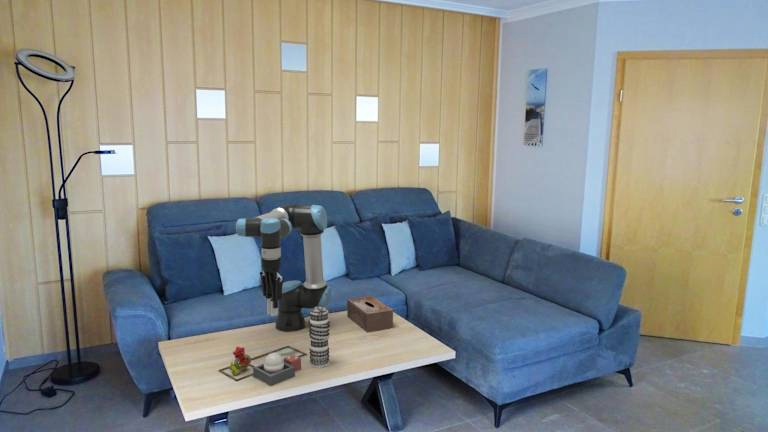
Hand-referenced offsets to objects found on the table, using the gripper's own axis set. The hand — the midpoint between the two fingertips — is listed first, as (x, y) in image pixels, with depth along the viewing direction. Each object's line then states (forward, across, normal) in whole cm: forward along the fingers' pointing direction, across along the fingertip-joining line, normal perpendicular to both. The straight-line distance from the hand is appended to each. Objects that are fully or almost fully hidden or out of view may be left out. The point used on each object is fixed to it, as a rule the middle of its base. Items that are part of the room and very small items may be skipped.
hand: (272, 314), depth 222 cm
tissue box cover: (+27, -16, +72) cm, 79 cm away
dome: (+24, 0, 0) cm, 24 cm away
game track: (+26, -14, +5) cm, 30 cm away
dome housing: (+26, 0, +3) cm, 27 cm away
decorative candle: (+27, +4, +21) cm, 34 cm away
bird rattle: (+27, -14, -7) cm, 31 cm away
